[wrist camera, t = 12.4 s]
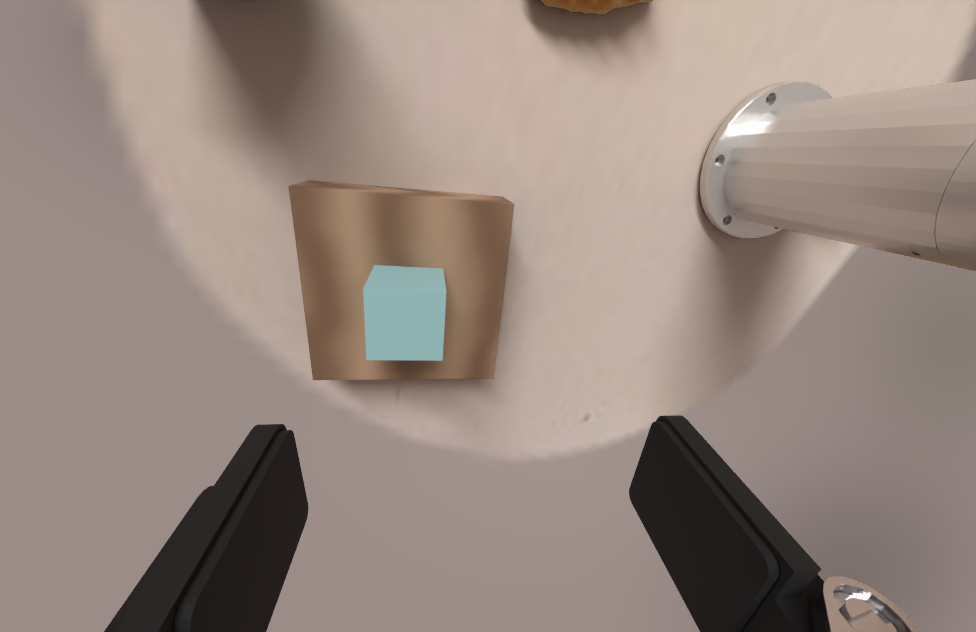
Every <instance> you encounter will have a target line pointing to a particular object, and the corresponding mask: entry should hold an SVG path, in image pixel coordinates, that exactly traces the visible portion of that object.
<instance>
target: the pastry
mask: <svg viewBox="0 0 976 632" xmlns="http://www.w3.org/2000/svg"><path fill="white" fill-rule="evenodd" d="M541 1H542V2H543V3H544V5H546V6H548V7H556V8H564V9H567V10H568V11H570V12H582V13H584V14H588V13H594V14H606V13H608V12H609V11H610V10H612V9H613V8H619V7H626V6H630V5H632V4H635V3H639V2H640V3H648V2H651V1H652V0H541Z"/></svg>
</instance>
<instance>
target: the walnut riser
mask: <svg viewBox="0 0 976 632" xmlns="http://www.w3.org/2000/svg"><path fill="white" fill-rule="evenodd" d="M289 192H290V200H291V208H292V215H293V223H294V231H295V239H296V247H297V255H298V263H299V271H300V279H301V287H302V295H303V303H304V311H305V319H306V327H307V335H308V343H309V351H310V359H311V367H312V375H313V380H382V379H493V377H494V369H495V361H496V352H497V344H498V336H499V327H500V319H501V311H502V302H503V294H504V286H505V277H506V269H507V261H508V252H509V244H510V236H511V227H512V219H513V211H514V204H513V203H512V202H510V201H508V200H507V199H505V198H503V197H498V196H486V195H474V194H462V193H450V192H438V191H426V190H415V189H403V188H391V187H379V186H367V185H355V184H343V183H331V182H319V181H306V182H302V183H298V184H295V185H291V186H289ZM374 265H382V266H402V267H421V268H441V269H443V270H444V278H445V285H446V309H445V327H444V344H443V361H425V360H366V341H365V319H364V297H363V288H364V286H365V284H366V282H367V280H368V277H369V275H370V273H371V271H372V269H373V267H374Z"/></svg>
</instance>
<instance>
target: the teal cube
mask: <svg viewBox="0 0 976 632" xmlns="http://www.w3.org/2000/svg"><path fill="white" fill-rule="evenodd" d="M363 297H364V319H365V341H366V360H425V361H443V344H444V327H445V309H446V285H445V278H444V270H443V269H441V268H421V267H402V266H382V265H374V267H373V269H372V271H371V273H370V275H369V277H368V280H367V282H366V284H365V286H364V288H363Z"/></svg>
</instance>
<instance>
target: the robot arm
mask: <svg viewBox="0 0 976 632" xmlns="http://www.w3.org/2000/svg"><path fill="white" fill-rule="evenodd" d="M700 196H701V202H702V206H703V209H704V211H705V214H706V216H707V217H708V219H709V220H710V222H711V223H712V224H713V225H714V226H715V227H716V228H717V229H719V230H720V231H722V232H724V233H726V234H728V235H732V236H735V237H739V238H748V239H753V238H760V237H765V236H768V235H771V234H774V233H776V232H778V231H780V230H782V229H787V230H791V231H796V232H800V233H805V234H809V235H814V236H818V237H823V238H827V239H832V240H836V241H841V242H846V243H850V244H855V245H859V246H864V247H868V248H873V249H877V250H882V251H886V252H891V253H895V254H900V255H905V256H909V257H914V258H918V259H923V260H927V261H932V262H936V263H941V264H945V265H950V266H955V267H958V268H962V269H967V270H971V271H976V80H968V81H960V82H953V83H945V84H937V85H929V86H922V87H914V88H906V89H898V90H891V91H883V92H875V93H867V94H860V95H852V96H844V97H836V98H832V96H831V95H830V94H829V92H827V91H826V90H825V89H823V88H822V87H820V86H819V85H816V84H813V83H810V82H805V81H792V82H786V83H781V84H776V85H773V86H770V87H767V88H764V89H763V90H761V91H759V92H757V93H755V94H754V95H752V96H750V97H749V98H748V99H746V100H745V101H744V102H743V103H741V104H740V105H739V106H738V107H737V108H736V109H735V110H734V111H733V112H732V113H731V114H730V115H729V116H728V117H727V118H726V120H725V121H724V122H723V124H722V125H721V127H720V128H719V130H718V131H717V132H716V134H715V136H714V138H713V140H712V142H711V144H710V146H709V148H708V150H707V153H706V156H705V159H704V162H703V166H702V171H701V176H700ZM629 495H630V500H631V502H632V504H633V506H634V508H635V510H636V512H637V514H638V516H639V517H640V519H641V521H642V523H643V525H644V527H645V529H646V531H647V532H648V534H649V536H650V538H651V540H652V542H653V544H654V546H655V548H656V549H657V551H658V553H659V555H660V557H661V559H662V561H663V562H664V564H665V566H666V568H667V570H668V572H669V574H670V576H671V577H672V579H673V581H674V583H675V585H676V587H677V589H678V591H679V592H680V594H681V596H682V598H683V600H684V602H685V604H686V606H687V608H688V609H689V611H690V613H691V615H692V617H693V619H694V621H695V623H696V625H697V626H698V628H699V630H700V632H920V631H919V630H918V629H917V628H916V626H915V625H914V624H913V623H912V622H911V620H910V619H909V618H908V617H907V616H906V615H905V614H904V613H903V612H902V611H901V610H899V608H898V607H897V606H896V605H894V604H893V603H892V602H890V601H889V600H888V599H886V598H885V597H884V596H883V595H881V594H880V593H879V592H877V591H875V590H873V589H871V588H870V587H868V586H866V585H865V584H863V583H860V582H858V581H855V580H853V579H850V578H846V577H840V576H835V577H830V578H828V579H827V580H826V581H825V582H824V581H823V580H822V579H821V578H820V577H819V576H818V572H819V571H820V570H821V568H820V567H819V566H818V565H817V564H816V563H815V562H814V561H813V560H812V558H811V557H810V556H809V555H808V554H807V553H806V552H805V551H804V550H803V548H802V547H801V546H800V545H799V544H798V543H797V542H796V541H795V539H793V537H792V536H791V535H790V534H789V533H788V532H787V531H786V529H785V528H784V527H783V526H782V525H781V524H780V523H779V522H778V521H777V519H775V517H774V516H773V515H772V514H771V513H770V512H769V511H768V510H767V508H766V507H765V506H764V505H763V504H762V503H761V502H760V500H759V499H758V498H757V497H756V496H755V495H754V494H753V493H752V492H751V490H749V488H748V487H747V486H746V485H745V484H744V483H743V482H742V480H741V479H740V478H739V477H738V476H737V475H736V474H735V473H734V472H733V470H732V469H731V468H730V467H729V466H728V465H727V464H726V463H725V462H724V460H723V459H722V458H721V457H720V456H719V455H718V454H717V453H716V451H715V450H714V449H713V448H712V447H711V446H710V445H709V444H708V443H707V442H706V440H704V438H703V437H702V436H701V435H700V434H699V433H698V431H697V430H696V429H695V428H694V427H693V426H692V425H691V424H690V423H689V421H688V420H687V419H686V418H684V417H683V416H660V417H658V418H657V420H656V422H653V423H652V425H651V428H650V430H649V433H648V437H647V439H646V442H645V446H644V448H643V451H642V454H641V457H640V460H639V462H638V466H637V468H636V471H635V474H634V477H633V480H632V483H631V486H630V489H629ZM307 515H308V502H307V497H306V492H305V487H304V482H303V477H302V472H301V467H300V462H299V457H298V452H297V448H296V442H295V437H294V433H293V431H291V430H286V427H285V426H284V425H283V424H273V425H256V426H255V427H254V428H253V429H252V430H251V431H250V433H249V435H248V436H247V437H246V439H245V440H244V442H243V443H242V445H241V447H240V448H239V449H238V451H237V452H236V454H235V455H234V457H233V458H232V460H231V461H230V463H229V464H228V466H227V467H226V469H225V470H224V472H223V473H222V475H221V476H220V478H219V479H218V481H217V482H216V484H215V485H214V486H210V487H208V488H207V489H205V490H204V491H203V492H202V493H201V494H200V495H199V497H198V498H197V499H196V501H195V502H194V504H193V505H192V506H191V508H190V509H189V511H188V512H187V514H186V515H185V516H184V518H183V519H182V521H181V522H180V524H179V525H178V527H177V528H176V529H175V531H174V532H173V534H172V535H171V537H170V538H169V539H168V541H167V543H166V544H165V545H164V547H163V548H162V549H161V551H160V552H159V554H158V555H157V557H156V558H155V559H154V561H153V562H152V564H151V565H150V567H149V568H148V570H147V571H146V572H145V574H144V575H143V577H142V578H141V580H140V581H139V583H138V584H137V585H136V587H135V588H134V590H133V591H132V593H131V594H130V595H129V597H128V598H127V600H126V601H125V603H124V604H123V606H122V607H121V608H120V610H119V611H118V613H117V614H116V615H115V617H114V618H113V620H112V621H111V623H110V624H109V625H108V627H107V628H106V630H105V631H104V632H266V630H267V628H268V625H269V622H270V619H271V616H272V614H273V611H274V608H275V605H276V603H277V600H278V597H279V594H280V592H281V589H282V586H283V584H284V581H285V578H286V575H287V572H288V570H289V567H290V564H291V562H292V559H293V556H294V553H295V551H296V548H297V545H298V542H299V540H300V537H301V534H302V531H303V529H304V526H305V522H306V520H307Z"/></svg>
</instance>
